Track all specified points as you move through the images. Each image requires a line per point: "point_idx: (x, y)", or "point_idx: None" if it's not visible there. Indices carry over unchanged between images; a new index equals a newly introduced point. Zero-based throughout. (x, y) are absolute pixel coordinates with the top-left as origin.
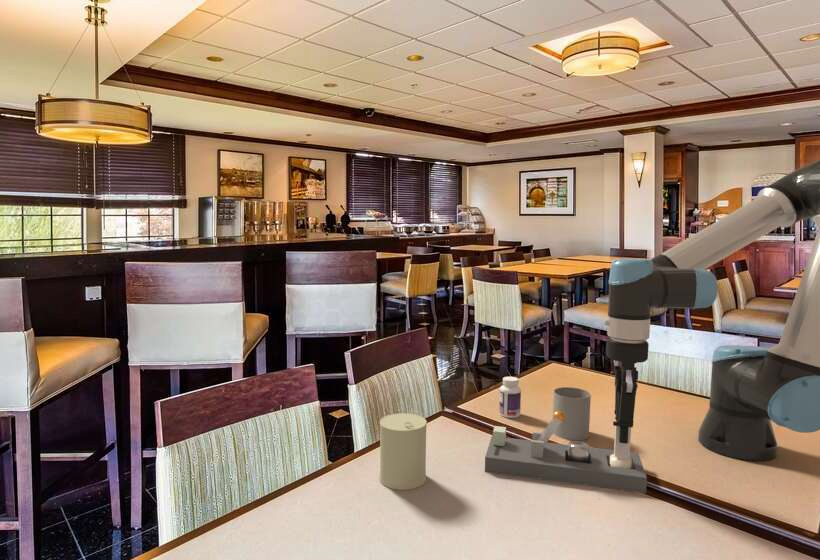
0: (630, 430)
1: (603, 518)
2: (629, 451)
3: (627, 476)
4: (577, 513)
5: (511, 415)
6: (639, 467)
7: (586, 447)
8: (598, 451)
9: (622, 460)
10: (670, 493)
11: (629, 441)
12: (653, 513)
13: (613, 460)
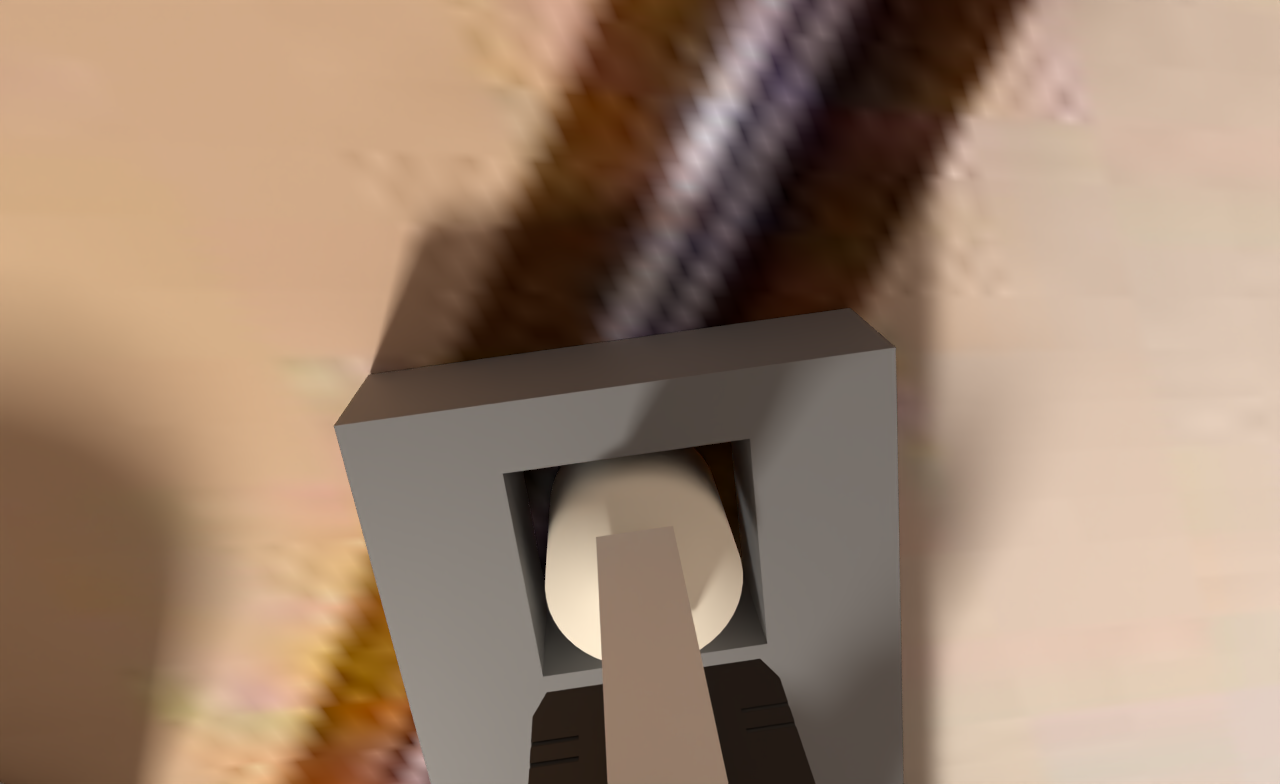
0: (719, 749)
1: (1276, 551)
2: (679, 569)
3: (893, 493)
4: (1243, 681)
5: None
6: (690, 410)
7: None
8: (489, 734)
9: (692, 569)
10: (781, 114)
11: (694, 645)
12: (1152, 258)
13: (717, 633)
